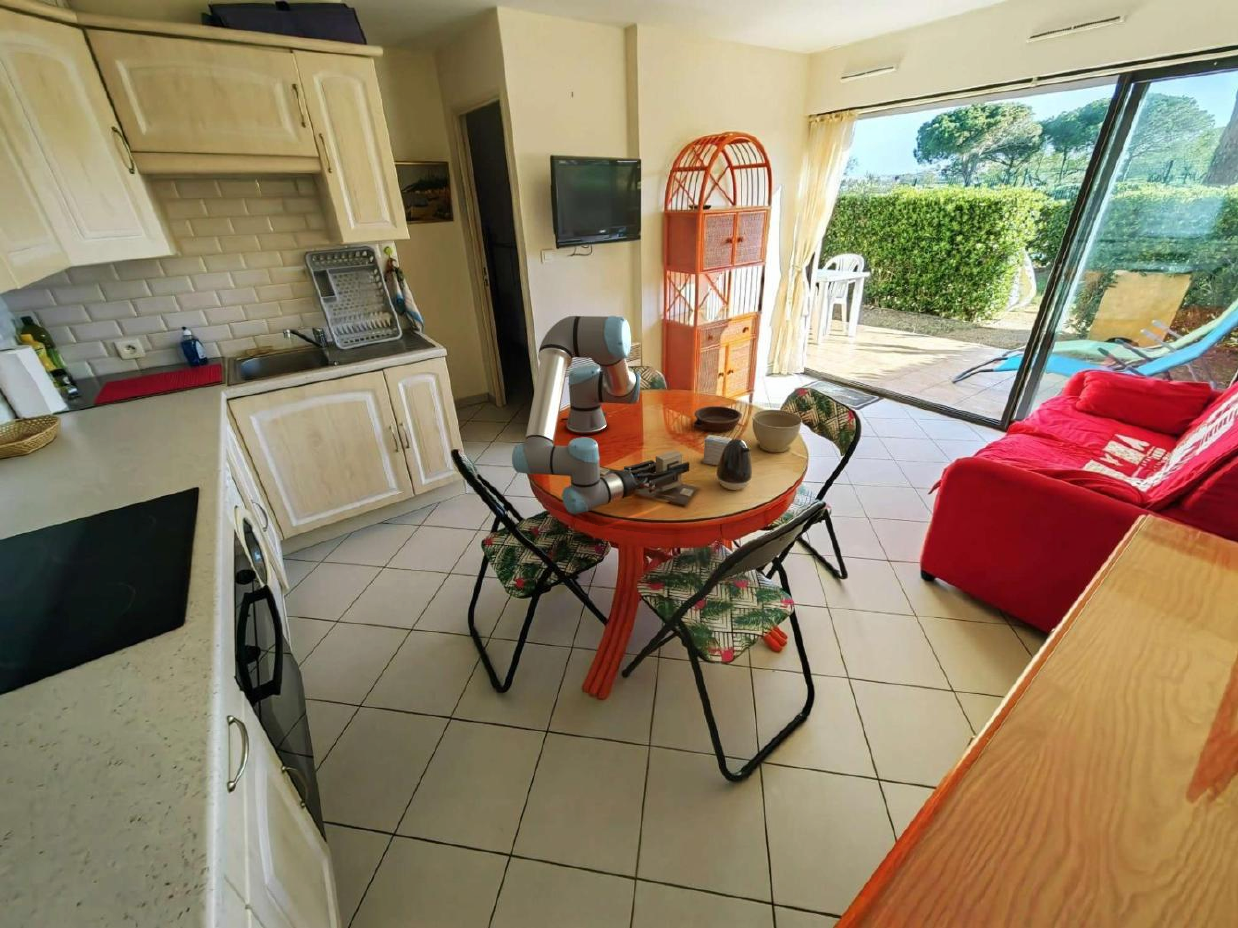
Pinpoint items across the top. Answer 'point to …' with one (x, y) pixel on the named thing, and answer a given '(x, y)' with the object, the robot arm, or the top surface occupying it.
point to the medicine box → (714, 448)
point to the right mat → (672, 494)
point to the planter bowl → (775, 429)
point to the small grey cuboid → (669, 466)
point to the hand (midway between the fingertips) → (683, 463)
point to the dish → (716, 418)
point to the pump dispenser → (735, 465)
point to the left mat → (606, 471)
